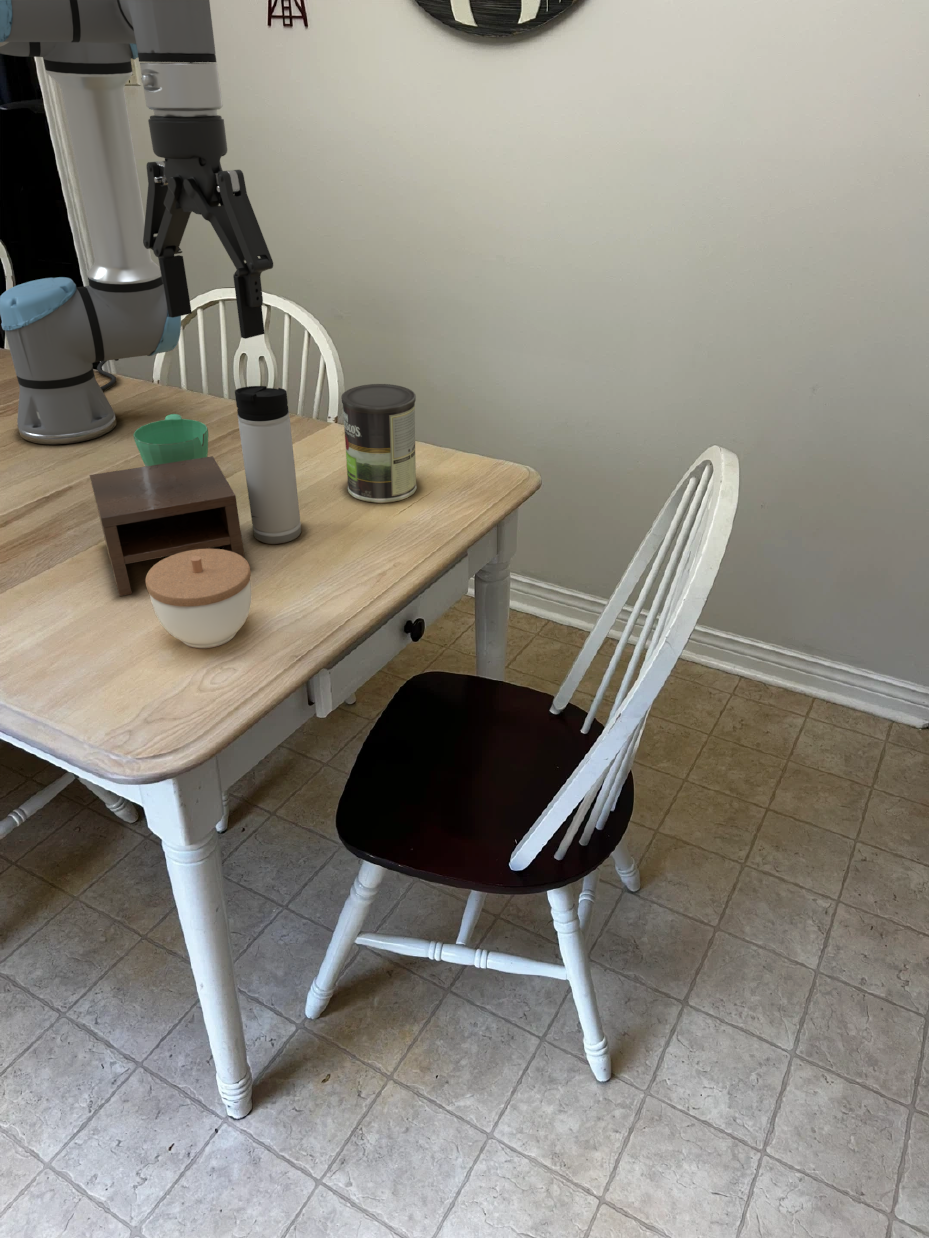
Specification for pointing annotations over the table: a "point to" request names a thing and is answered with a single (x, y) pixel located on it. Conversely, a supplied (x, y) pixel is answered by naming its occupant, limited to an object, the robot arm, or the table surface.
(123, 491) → the shelf
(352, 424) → the coffee can
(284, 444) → the travel mug
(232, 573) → the trinket box
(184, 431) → the mug
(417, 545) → the table surface
